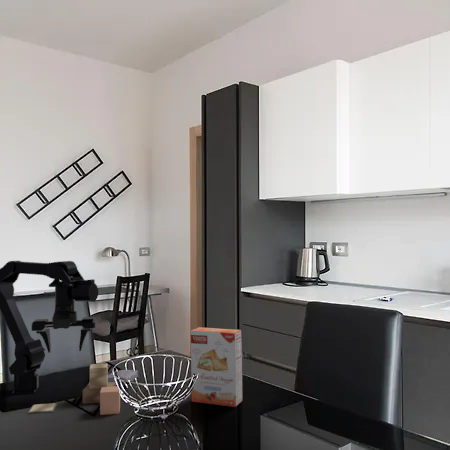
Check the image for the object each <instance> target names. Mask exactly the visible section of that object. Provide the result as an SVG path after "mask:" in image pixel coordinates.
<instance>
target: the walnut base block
mask: <svg viewBox="0 0 450 450" xmlns="http://www.w3.org/2000/svg"><path fill="white" fill-rule="evenodd" d="M114 386H116V383H115V382H108V385H107V387H114ZM100 391H101V388H100V389H90V382H89V383H88V384H87V385H86V386H85V387H84V388H83V390H82V404H100Z"/></svg>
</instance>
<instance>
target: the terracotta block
mask: <svg viewBox="0 0 450 450" xmlns="http://www.w3.org/2000/svg"><path fill="white" fill-rule="evenodd" d="M99 408H100V410H99V411H100V412H99V414H100V416H102V415H103V416H105V415H116V414H119V415H120V411H121V410H120V409H121V392H120V393H119V390H118V387H117V386H114V387H102V388H101V391H100V403H99Z"/></svg>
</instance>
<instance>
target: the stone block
mask: <svg viewBox="0 0 450 450" xmlns="http://www.w3.org/2000/svg"><path fill="white" fill-rule="evenodd" d="M116 371H117V370H116ZM138 371H139V370H133V369H131V370H130V369H120V370H118V371H117V374H118V376H119V377H120V378H121V379H122V380H125V381H128V380H130V381H133V380H134V379H135V378H136V377H138V378H139V376H138V375H139V372H138ZM113 372H114V371H112V372H110V373H108V382H115V381H114V377H113Z"/></svg>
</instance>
